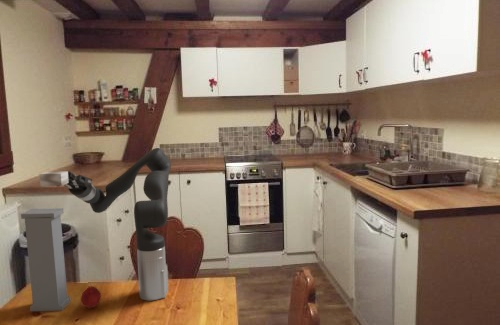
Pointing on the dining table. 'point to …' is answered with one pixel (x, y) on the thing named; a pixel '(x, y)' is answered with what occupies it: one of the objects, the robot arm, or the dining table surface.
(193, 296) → the dining table surface
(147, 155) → the robot arm
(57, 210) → the stand
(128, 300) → the dining table surface
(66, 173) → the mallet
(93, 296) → the onion
